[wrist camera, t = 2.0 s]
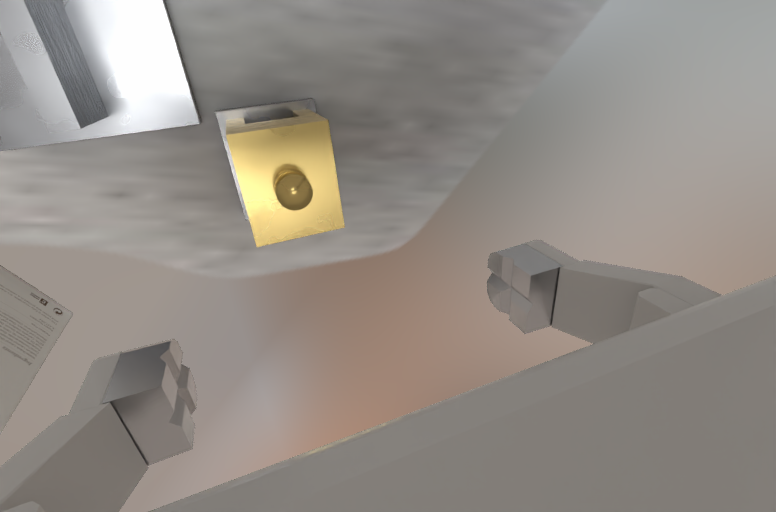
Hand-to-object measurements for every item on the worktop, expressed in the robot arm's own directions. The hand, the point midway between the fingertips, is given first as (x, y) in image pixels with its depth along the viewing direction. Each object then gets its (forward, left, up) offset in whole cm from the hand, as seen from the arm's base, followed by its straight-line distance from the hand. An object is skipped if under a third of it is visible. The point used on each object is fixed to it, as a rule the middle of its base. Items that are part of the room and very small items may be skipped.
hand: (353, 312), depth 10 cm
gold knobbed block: (0, 0, -19) cm, 19 cm away
